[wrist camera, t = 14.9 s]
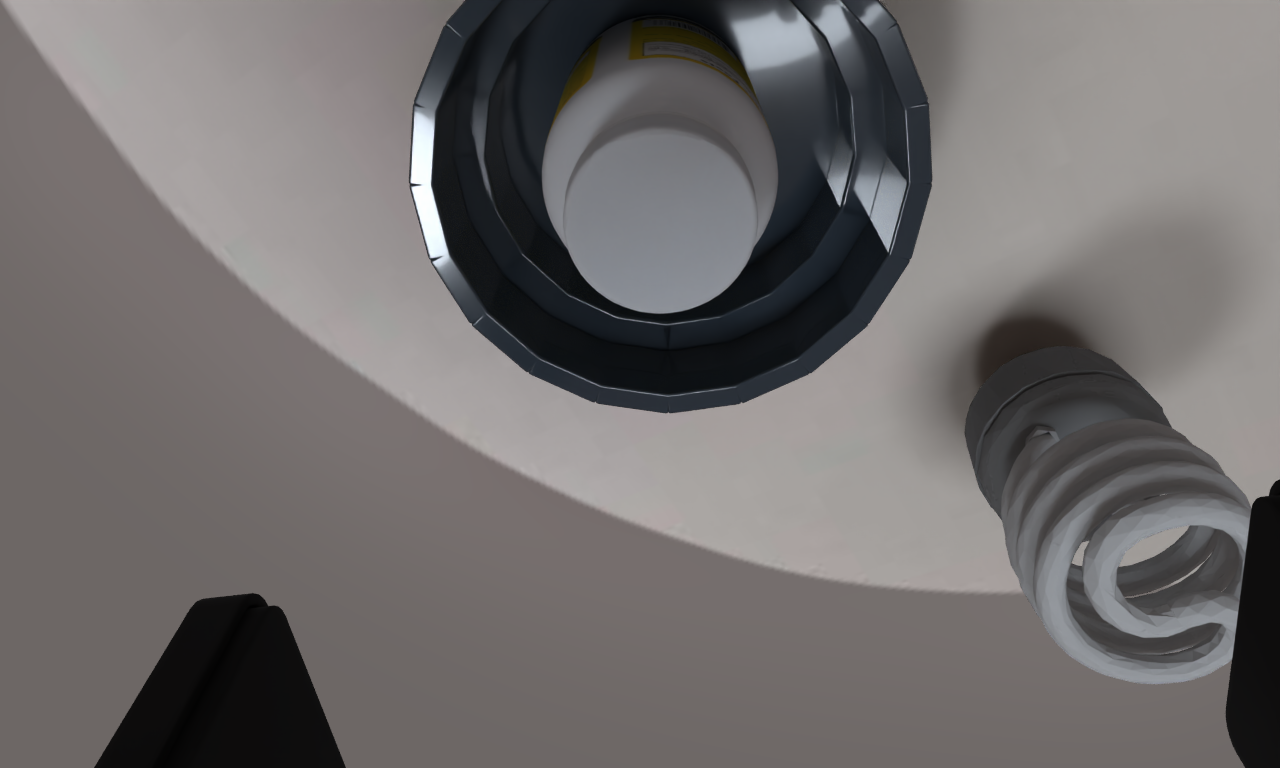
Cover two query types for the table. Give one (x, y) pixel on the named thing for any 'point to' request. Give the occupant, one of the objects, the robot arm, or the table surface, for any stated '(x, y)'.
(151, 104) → the table surface
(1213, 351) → the table surface
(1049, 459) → the light bulb
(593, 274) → the supplement bottle
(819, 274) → the metal bowl
